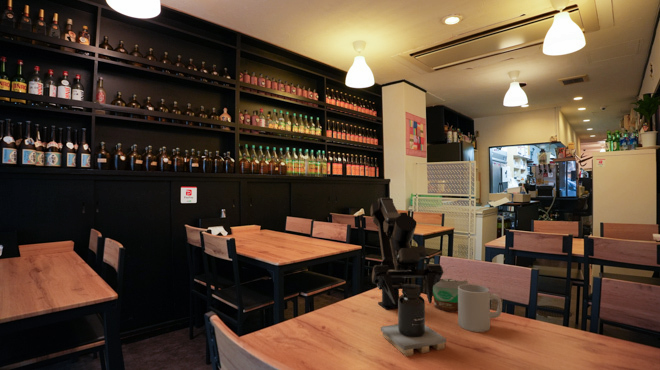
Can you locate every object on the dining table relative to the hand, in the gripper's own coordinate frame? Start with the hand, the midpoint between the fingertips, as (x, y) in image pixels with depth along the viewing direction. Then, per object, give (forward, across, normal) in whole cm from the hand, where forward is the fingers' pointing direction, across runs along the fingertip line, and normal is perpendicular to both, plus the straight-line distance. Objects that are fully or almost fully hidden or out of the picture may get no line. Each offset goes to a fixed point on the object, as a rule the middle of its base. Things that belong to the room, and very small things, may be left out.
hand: (413, 303), depth 86 cm
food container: (-9, +18, +24) cm, 32 cm away
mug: (0, +22, +15) cm, 27 cm away
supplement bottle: (+5, 0, +7) cm, 8 cm away
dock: (+6, 0, +8) cm, 11 cm away
